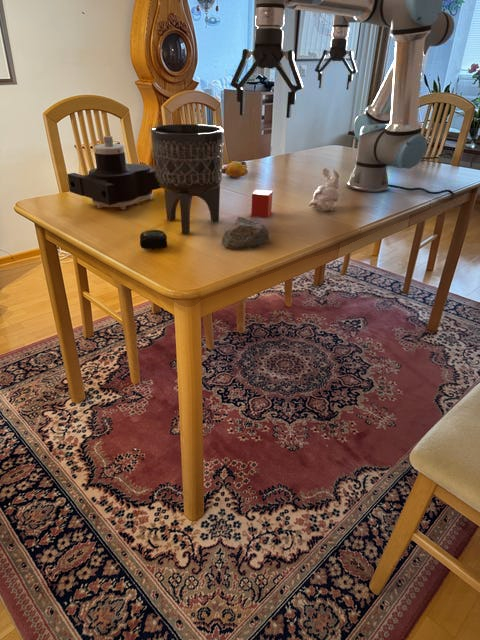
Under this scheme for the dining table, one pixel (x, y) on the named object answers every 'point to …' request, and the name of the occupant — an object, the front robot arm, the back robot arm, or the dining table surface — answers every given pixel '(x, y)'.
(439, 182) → the dining table surface
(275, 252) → the dining table surface
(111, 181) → the mechanical component
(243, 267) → the dining table surface
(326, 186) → the figurine
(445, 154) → the back robot arm
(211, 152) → the planter
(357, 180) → the front robot arm
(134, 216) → the dining table surface
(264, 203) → the brick
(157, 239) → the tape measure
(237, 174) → the toy
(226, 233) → the rock
